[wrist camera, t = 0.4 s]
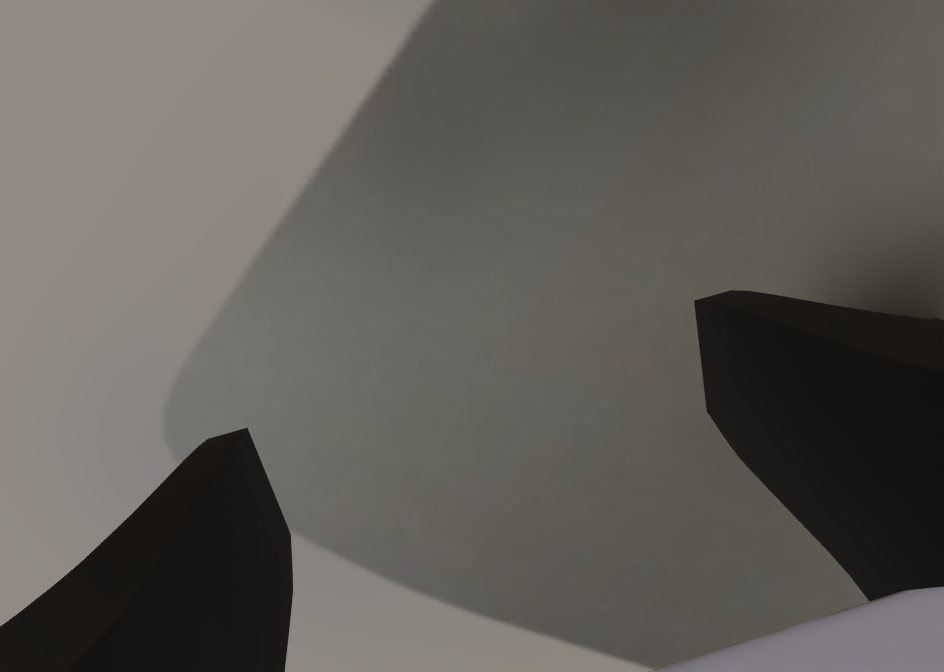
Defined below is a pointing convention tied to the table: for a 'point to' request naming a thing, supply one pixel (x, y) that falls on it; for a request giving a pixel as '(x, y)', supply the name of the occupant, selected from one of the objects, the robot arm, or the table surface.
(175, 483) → the robot arm
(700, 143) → the table surface
